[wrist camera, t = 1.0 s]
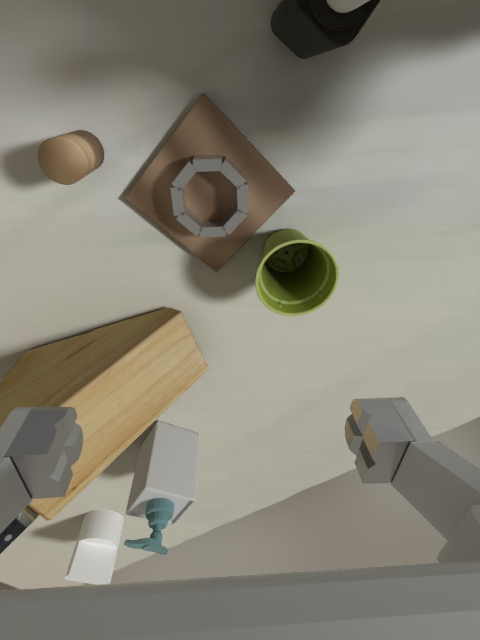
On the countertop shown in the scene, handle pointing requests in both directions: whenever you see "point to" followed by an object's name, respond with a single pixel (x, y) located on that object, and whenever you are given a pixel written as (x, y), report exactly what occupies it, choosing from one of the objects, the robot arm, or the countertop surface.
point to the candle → (319, 23)
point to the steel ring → (194, 222)
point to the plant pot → (295, 274)
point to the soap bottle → (163, 481)
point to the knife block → (103, 392)
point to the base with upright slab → (96, 548)
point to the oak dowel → (70, 156)
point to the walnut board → (209, 183)
